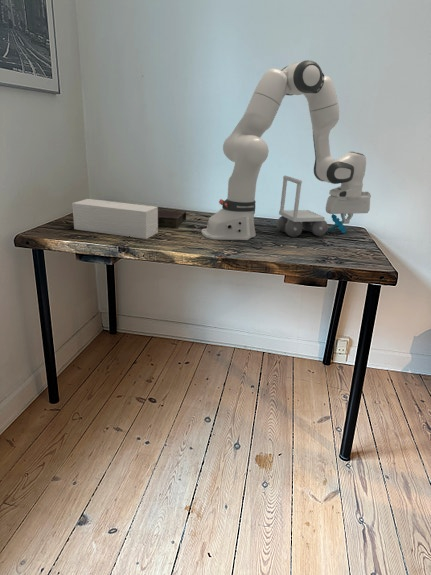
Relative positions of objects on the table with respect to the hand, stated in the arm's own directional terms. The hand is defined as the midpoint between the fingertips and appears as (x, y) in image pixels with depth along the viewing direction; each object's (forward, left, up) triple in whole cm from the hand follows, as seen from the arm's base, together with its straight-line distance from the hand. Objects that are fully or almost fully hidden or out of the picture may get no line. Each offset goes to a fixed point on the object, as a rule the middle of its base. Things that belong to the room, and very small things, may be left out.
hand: (345, 223), depth 182 cm
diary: (-80, +27, -5) cm, 85 cm away
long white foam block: (-98, +13, -4) cm, 99 cm away
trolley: (-22, 0, -4) cm, 23 cm away
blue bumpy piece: (-3, +1, -4) cm, 5 cm away
